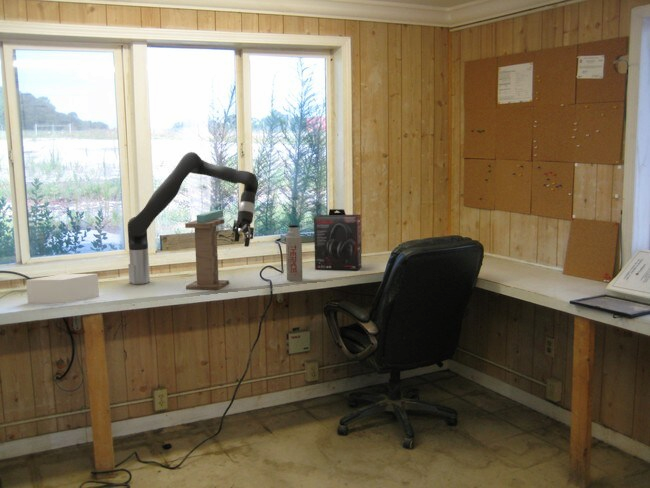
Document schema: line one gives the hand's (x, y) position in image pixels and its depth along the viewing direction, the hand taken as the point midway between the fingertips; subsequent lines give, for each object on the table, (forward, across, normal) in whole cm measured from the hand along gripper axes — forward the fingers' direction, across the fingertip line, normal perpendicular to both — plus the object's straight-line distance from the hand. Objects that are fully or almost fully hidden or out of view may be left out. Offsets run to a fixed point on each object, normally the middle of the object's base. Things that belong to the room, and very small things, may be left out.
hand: (241, 243), depth 318 cm
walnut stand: (+21, -1, -17) cm, 27 cm away
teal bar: (-11, +7, -16) cm, 20 cm away
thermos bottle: (+11, -29, +14) cm, 35 cm away
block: (+38, +46, -60) cm, 84 cm away
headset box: (-4, -64, +21) cm, 67 cm away
